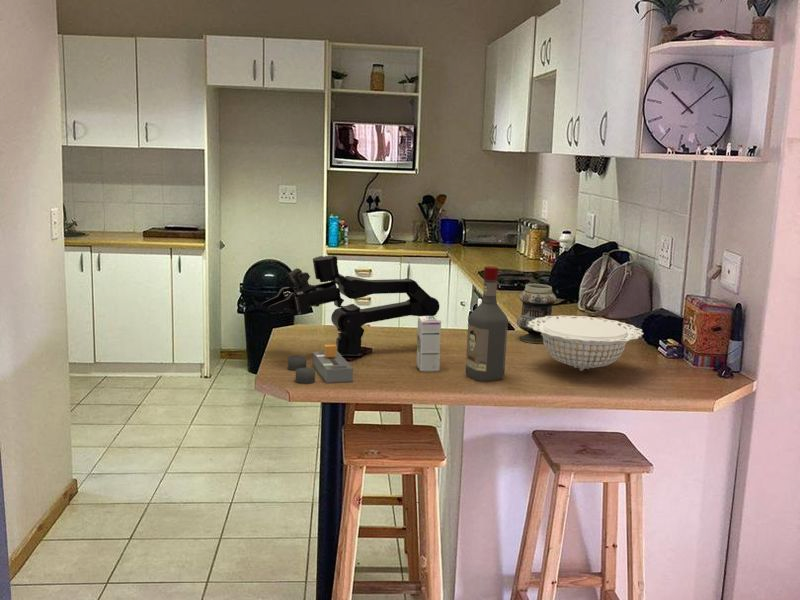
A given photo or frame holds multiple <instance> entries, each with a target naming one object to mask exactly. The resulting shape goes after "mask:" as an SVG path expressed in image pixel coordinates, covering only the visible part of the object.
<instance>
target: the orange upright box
mask: <svg viewBox="0 0 800 600" xmlns="http://www.w3.org/2000/svg"><path fill="white" fill-rule="evenodd" d="M323 350H324V351H323V352H324V356H325V357H337V346H336V343H335V344H324V349H323Z"/></svg>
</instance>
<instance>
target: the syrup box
mask: <svg viewBox="0 0 800 600" xmlns="http://www.w3.org/2000/svg"><path fill="white" fill-rule="evenodd" d="M441 329H442V321H441V319H440V318H439V317H438V316H437V315H435V316H417V330H416V331H417V334H416V335H417V336H416V337H417V341H416V364H415V366H416V368H417V369H418V370H419V371H420V372H440V366H441V365H440V364H441V340H442V339H441V336H442V332H441V331H442V330H441Z"/></svg>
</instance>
